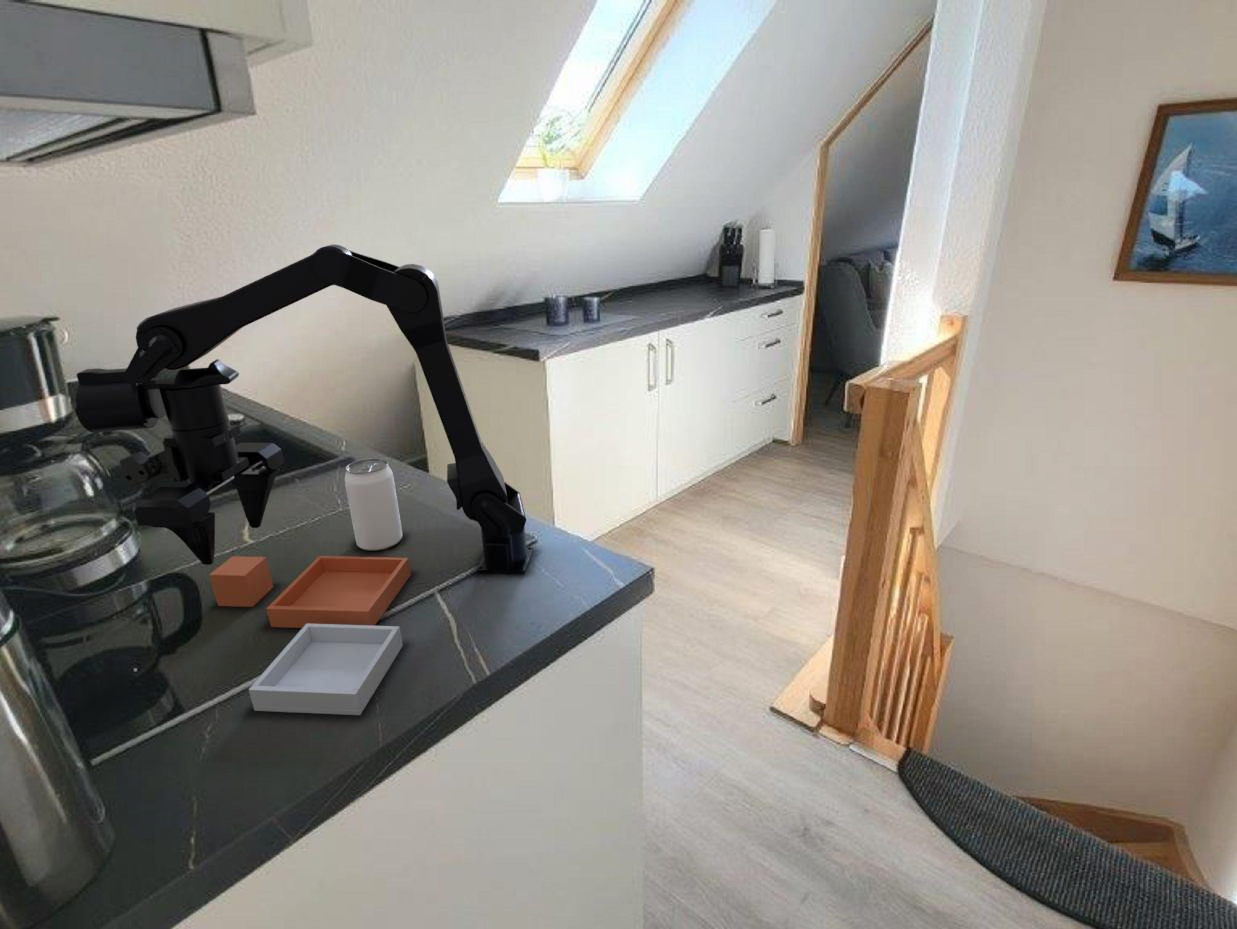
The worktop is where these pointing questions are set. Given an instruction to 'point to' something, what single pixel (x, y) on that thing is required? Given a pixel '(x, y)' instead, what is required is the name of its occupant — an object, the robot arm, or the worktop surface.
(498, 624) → the worktop surface
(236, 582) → the block
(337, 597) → the terracotta tray
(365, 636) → the steel tray
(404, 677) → the worktop surface
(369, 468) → the can
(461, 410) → the robot arm
